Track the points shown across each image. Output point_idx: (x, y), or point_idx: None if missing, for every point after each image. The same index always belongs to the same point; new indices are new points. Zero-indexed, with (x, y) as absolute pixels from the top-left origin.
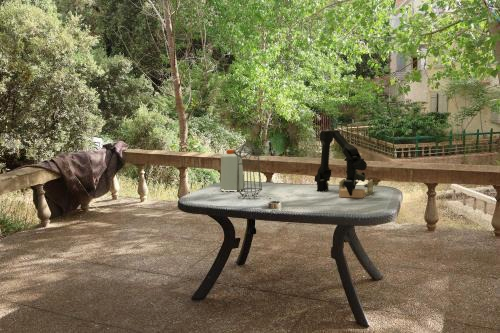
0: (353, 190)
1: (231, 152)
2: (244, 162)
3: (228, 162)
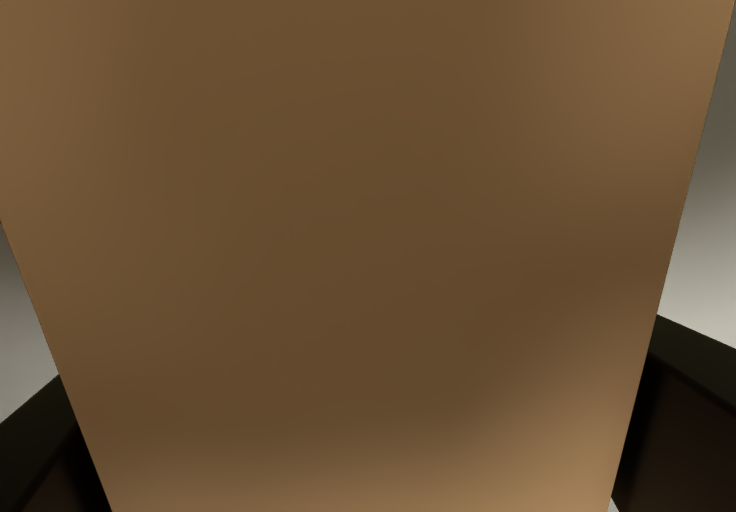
0: (541, 358)
1: None
2: None
3: None
